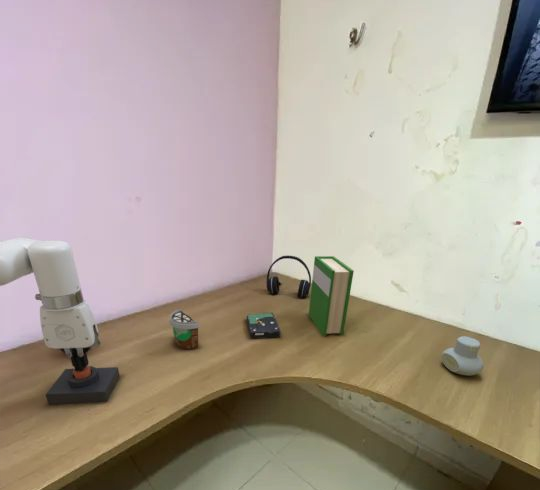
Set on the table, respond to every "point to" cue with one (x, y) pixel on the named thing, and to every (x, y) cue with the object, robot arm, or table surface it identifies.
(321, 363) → the table surface
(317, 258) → the hardback book
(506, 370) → the table surface
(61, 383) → the button base
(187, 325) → the food container
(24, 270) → the robot arm
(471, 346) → the air freshener
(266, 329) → the disk drive
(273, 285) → the headphones
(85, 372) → the push button
